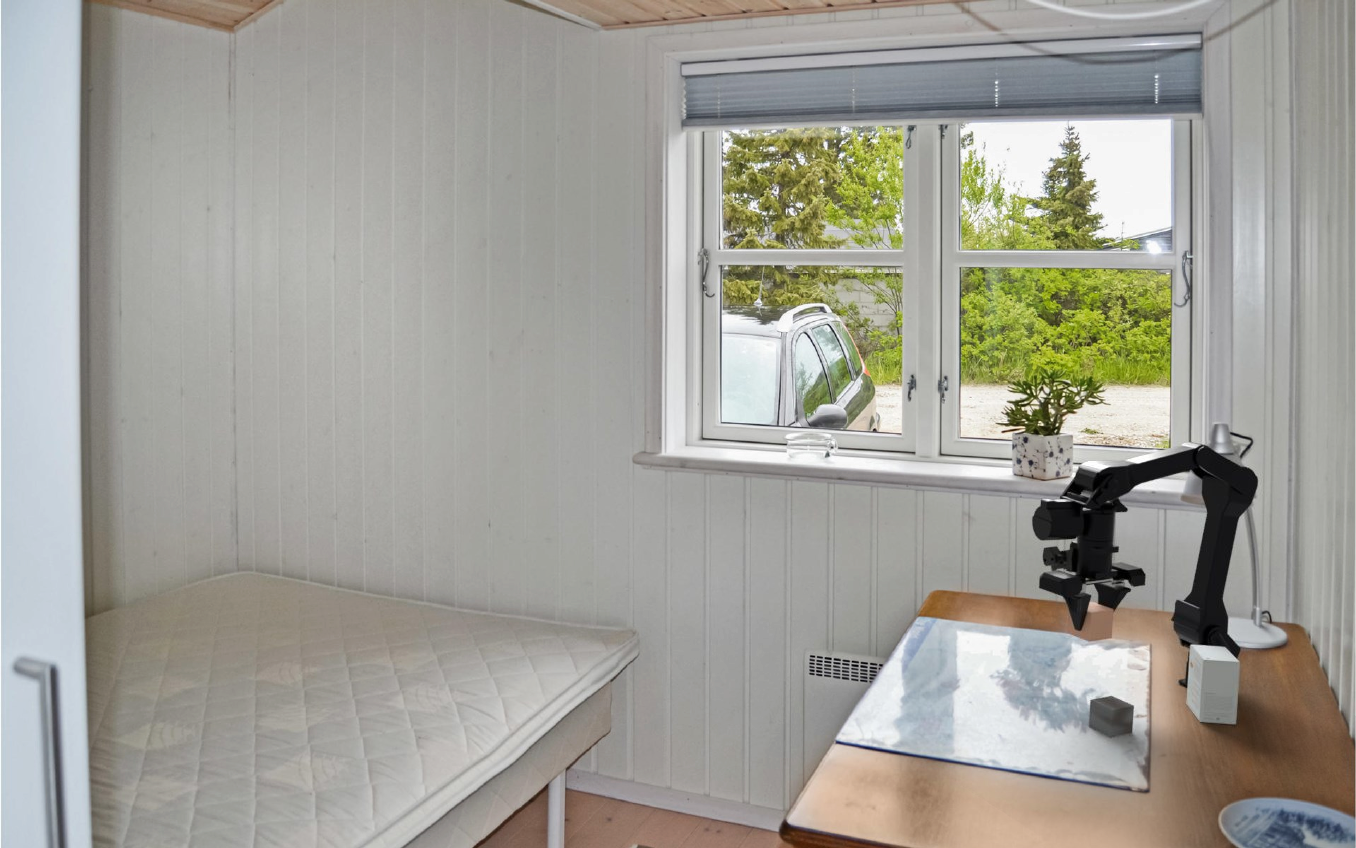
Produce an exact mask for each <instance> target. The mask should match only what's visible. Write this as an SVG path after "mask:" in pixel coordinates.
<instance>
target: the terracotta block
mask: <svg viewBox="0 0 1356 848" xmlns="http://www.w3.org/2000/svg"><path fill="white" fill-rule="evenodd" d="M1067 609H1068V608H1067ZM1113 611H1114V609H1111V608H1109V607H1106V606H1103V605H1100V604H1098V602H1094V601H1091V600H1090V603H1089V606H1088V610H1087V614H1086V617H1085V621H1084V624H1083V627H1082V630H1081V631H1077V630H1075V628H1074V625H1073V622H1072V619H1071V615H1070V612H1069V609H1068V610H1067V612H1068V613H1067V625H1066V628H1067V629H1066V634H1069V635H1071V636H1073V637H1076V638H1078V639H1082V640H1084V641H1086V642H1089V643H1092V642H1095V641H1102V640H1107V639H1108V640H1109V639H1112V638H1113V623H1114V613H1113ZM1114 612H1115V611H1114Z"/></svg>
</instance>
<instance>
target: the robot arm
mask: <svg viewBox="0 0 1356 848" xmlns="http://www.w3.org/2000/svg"><path fill="white" fill-rule="evenodd" d="M1188 471H1190V472H1191V474H1192V475H1194V476H1195V477H1196V478H1198V479H1199V480H1200V481H1201V497H1202V499H1203V500H1202V501H1203V503H1204V506H1205V509H1206V516H1205V522H1204V526H1203V532H1202V536H1201V543H1200V546H1199V553H1198V557H1197V561H1196V565H1195V566H1196V567H1195V573H1194V576H1193V577H1194V578H1193V581H1192V588H1191V591H1190V593H1189V594H1188V595H1187V596H1186V597H1185V598H1184V599H1183V600H1182V599H1179V598H1177V599H1176V600H1175V603H1174V611H1173V615H1172V617H1171V619H1170V621H1171V622H1173V626H1172V627H1173V632H1175V633H1176V636H1178V639H1179V644H1180V646H1182V647H1185V648H1187V649H1188V650H1190V645H1205V646H1220V647H1226V648H1227V649H1228V650H1229V651H1230V652H1231V654H1232V655H1233V656H1234V657H1235V658H1236V659H1237V660H1238V658H1239V655H1240V653H1241V650H1242V649H1241V647H1240V646H1239V645H1238V643H1237V642H1235V640H1234V639H1233V638H1232V636H1230V634H1229V633H1228V632H1229V615H1228V611H1227V609H1226V605H1225V602H1224V595H1225V594H1224V593H1225V589H1226V583H1227V578H1228V574H1229V570H1230V564H1231V559H1232V555H1233V549H1234V543H1235V539H1236V536H1237V535H1236V534H1237V529H1238V524H1239V520H1240V517H1242V515H1243V514H1244V513H1245V512H1246V511H1247V510H1248V509H1249V508H1250V506H1251V505H1252V503H1253V501H1254V497H1255V495H1256V493H1257V489H1258V486H1259V477H1258V476H1257V475H1256V473H1255V471H1254V470H1253V469H1252V468H1251V467H1247V466H1244V465H1239V464H1238V463H1236V462H1234V461H1232V460H1230V459H1229V458H1227V457H1225V456H1224V455H1221V454H1219V453H1218V452H1216V451H1215V450H1214V449H1213V448H1211V447H1210V446H1209V445H1206V444H1203V443H1197V442H1193V441H1187V442H1184V443H1182V444H1180V445H1177V446H1172V447H1169V448H1165V449H1161V450H1158V451H1154V452H1151V453H1147V454H1143V455H1139V456H1135V457H1133V458H1128V459H1125V460H1123V459H1121V460H1106V459H1105V460H1104V459H1103V460H1094V461H1093V460H1092V461H1085V462H1083V463H1081V464H1079V465H1078V469H1077V470H1076V472H1075V474H1074V476H1073V477H1072V479H1071V481H1070V482H1069V484H1068V485H1067V486H1066V488H1065V489H1064V491H1063V492H1062V493H1061V495H1060V496H1059V499H1051V498H1041V499H1040V503H1039V504H1040V505H1039V506H1038V507H1037V508H1036V509H1035V511H1034V512H1033V513H1034V514H1033V515H1032V517H1031V526H1032V530H1033V532H1034V536H1035V537H1036V539H1038V540H1039V541H1044V542H1045V541H1060V540H1061V541H1063V540H1067V541H1068V540H1071V543H1069V549H1066V550H1060V549H1059V547H1058V545H1057V546H1056V545H1055V546H1054V545H1053V546H1048V547H1043V551H1042V561H1043V565H1044V566H1045V567H1050V569H1051V571H1044V572H1043V573H1041V574H1040V575H1039V581H1038V582H1039V583H1038V584H1039V585H1038V589H1041V590H1042V591H1043V590H1044V591H1046V592H1049V593H1052V594H1055V595H1058V596H1060V597H1062V598H1063V599H1064V601H1065V603H1066V606H1067V609H1069V612H1070V615H1071V619H1072V622H1073V625H1074V628H1075V630H1077V631H1081V630H1082V627H1083V624H1084V621H1085V617H1086V614H1087V610H1088V606H1089V603H1090V601H1091V598H1092V594H1089V593H1086V590H1087V589H1086V587H1087V586H1090V585H1093V586H1094V588H1095V590H1096V593H1097V604H1100V605H1103V606H1106V607H1109V608H1111V609H1114V611H1113V614H1114V613H1115V611H1116V610H1117V609H1118V607H1119V605H1120V604H1121V603H1122V601H1123V600H1124V598H1126V596H1127V595H1128V593H1131V592H1132V588H1131V587H1134V588H1135V587H1137V588H1138V587H1143V586H1146V578H1147V576H1146V572H1144V570H1143V568H1142V567H1138V566H1135V565H1132V564H1128V563H1125V562H1114V563H1113V558H1114V556H1113V555H1114V554H1116V553H1119V550H1120V549H1119V548H1120V546H1118V545H1115V544H1114V543H1115V542H1114V539H1115V528H1116V527H1115V526H1116V525H1115V522H1116V513H1127V512H1128V511H1129V509H1128V507H1126V505H1125V504H1124V503H1122V502H1121V500H1120V499H1119V498H1121V497H1123V496H1125V495H1127V494H1129V493H1131V492H1132V490H1133V489H1134V488H1136V487H1138V486H1139V485H1141V484H1144V483H1149V482H1152V481H1156V480H1159V479H1164V478H1166V477H1170V476H1173V475H1178V474H1182V473H1184V472H1188ZM1087 496H1088V497H1087ZM1072 540H1073V541H1072ZM1061 569H1063V570H1065V571H1066V572H1065V571H1062V570H1061ZM1071 573H1075V574H1071ZM1125 581H1127V582H1128V584H1129V585H1130V587H1127V586H1126V582H1125ZM1189 656H1190V651H1188V652H1187V661H1186V663H1185V664H1186V665H1185V676H1184V677H1185V678H1181V679H1178V684H1180V685H1183V686H1185V687H1188V672H1189Z"/></svg>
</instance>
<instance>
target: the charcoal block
mask: <svg viewBox="0 0 1356 848" xmlns="http://www.w3.org/2000/svg"><path fill="white" fill-rule="evenodd" d="M1089 701H1090V702H1089V719H1088V727H1089V728H1091V729H1093V730H1094V731H1097V732H1099V733H1102V734H1103V735H1105V736H1108V737H1109V738H1114V737H1119V736H1120V737H1121V736H1124V735H1128V734H1132V733H1133V728H1134V727H1133V726H1134V712H1135V711H1134V709H1135V705H1133V704H1131V703H1129V702H1126V701H1125V700H1122V699H1119V698H1118V697H1115V696H1114V695H1108V696H1104V697H1097V698H1092V699H1090V700H1089Z"/></svg>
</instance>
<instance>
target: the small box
mask: <svg viewBox="0 0 1356 848" xmlns="http://www.w3.org/2000/svg"><path fill="white" fill-rule="evenodd" d="M1189 652H1190V656H1189V672H1188V686H1187V691H1186V705H1187V707H1188V708H1189V709H1190V711H1191V712H1192V713H1193V715H1194V716H1195V717H1196V719H1197V720H1198V721H1199V722H1200V723H1209V724H1212V723H1213V724H1224V725H1237V715H1238V702H1239V688H1240V687H1239V686H1240V671H1241V661H1240V660H1239V659H1238V658H1237V659H1236V658H1235V657H1234V656H1233V655H1232V654H1231V652H1230V651H1229V650H1228V649H1227V648H1226V647H1220V646H1205V645H1190V649H1189Z"/></svg>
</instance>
